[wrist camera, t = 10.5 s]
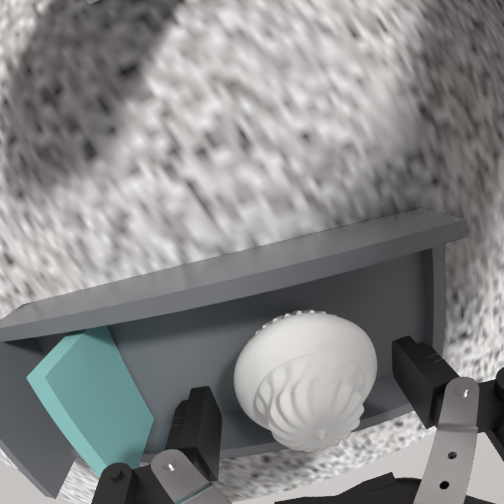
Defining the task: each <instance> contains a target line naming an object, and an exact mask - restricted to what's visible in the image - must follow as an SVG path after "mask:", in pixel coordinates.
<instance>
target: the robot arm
mask: <svg viewBox="0 0 504 504" xmlns="http://www.w3.org/2000/svg"><path fill="white" fill-rule="evenodd" d="M392 371H393V375H394V378H395V381H396V382H397V384H398V385H399V387H400V388H401V390H402V391H403V393H404V395H405V396H406V398H407V399H408V401H409V402H410V404H411V405H412V407H413V409H414V410H415V412H416V413H417V415H418V417H419V418H420V420H421V421H422V423H423V425H424V426H425V428H426V429H428V428H430V427H432V426H436V428H437V431H436V435H435V438H434V442H433V446H432V449H431V453H430V456H429V459H428V463H427V466H426V469H425V472H424V475H423V478H422V479H417V478H394V476H393V473H392V472H390V473H388V474H384V475H382V476H379V477H376V478H373V479H370V480H367V481H364V482H362V483H361V484H358V485H356V486H355V487H353V488H351V489H349V490H347V491H345V492H343V493H341V494H339V495H336V496H324V497H301V498H296V499H290V500H285V501H278V502H275V503H274V504H495V503H491V502H488V501H484V500H481V499H477V498H474V497H471V496H468V495H466V492H467V488H468V484H469V479H470V474H471V469H472V464H473V459H474V453H475V448H476V441H477V434H478V433H481V432H485V433H486V435H487V436H488V438H489V439H490V441H491V442H492V444H493V445H494V447H495V449H496V450H497V452H498V453H499V455H500V456H501V458H502V460H503V461H504V367H503V368H502V369H500V370H499V371H498V373H497V375H496V379H495V380H491V381H487V382H482V383H477V382H476V381H475V380H474V379H472V378H469V377H460V376H459V375H458V374H457V373H456V372H455V371H454V370H453V369H452V368H451V367H450V366H449V364H448V363H447V362H446V361H445V360H444V359H442V357H441V356H440V355H439V354H438V353H437V352H436V351H435V350H434V349H433V347H432V346H430V345H427V344H425V343H423V342H421V343H418V344H417V343H416V342H415V341H414V340H413V339H412V338H411V336H409V335H408V336H405V337H402V338H399V339H396V340H394V341H393V342H392ZM173 418H174V419H173V420H172V424H171V425H172V426H171V428H170V431H169V435H168V439H167V443H166V447H165V450H164V451H162V452H160V453H159V454H157V455H156V456H155V457H154V459H153V460H152V462H151V464H150V465H147V466H143V467H139V468H135V469H131V468H130V466H129V465H127V464H126V463H122V462H117V463H113V464H110V465H109V466H107V467H106V468H105V469H104V470H103V471H102V473H101V476H100V479H99V482H98V485H97V488H96V491H95V494H94V497H93V500H92V503H91V504H232V503H231V502H230V501H229V500H228V499H227V498H226V497H225V496H224V495H223V494H222V493H221V492H220V491H219V490H218V489H217V488H216V487H215V486H214V485H213V484H212V483H209V481H218V470H219V457H220V445H221V433H222V416H221V412H220V409H219V407H218V405H217V402H216V400H215V398H214V395H213V393H212V391H211V388H210V387H209V386H202V387H195V388H191V390H190V394H189V399H188V400H182V401H181V403H180V404H179V405H178V406H177V408H176V409H175V413H174V416H173Z"/></svg>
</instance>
